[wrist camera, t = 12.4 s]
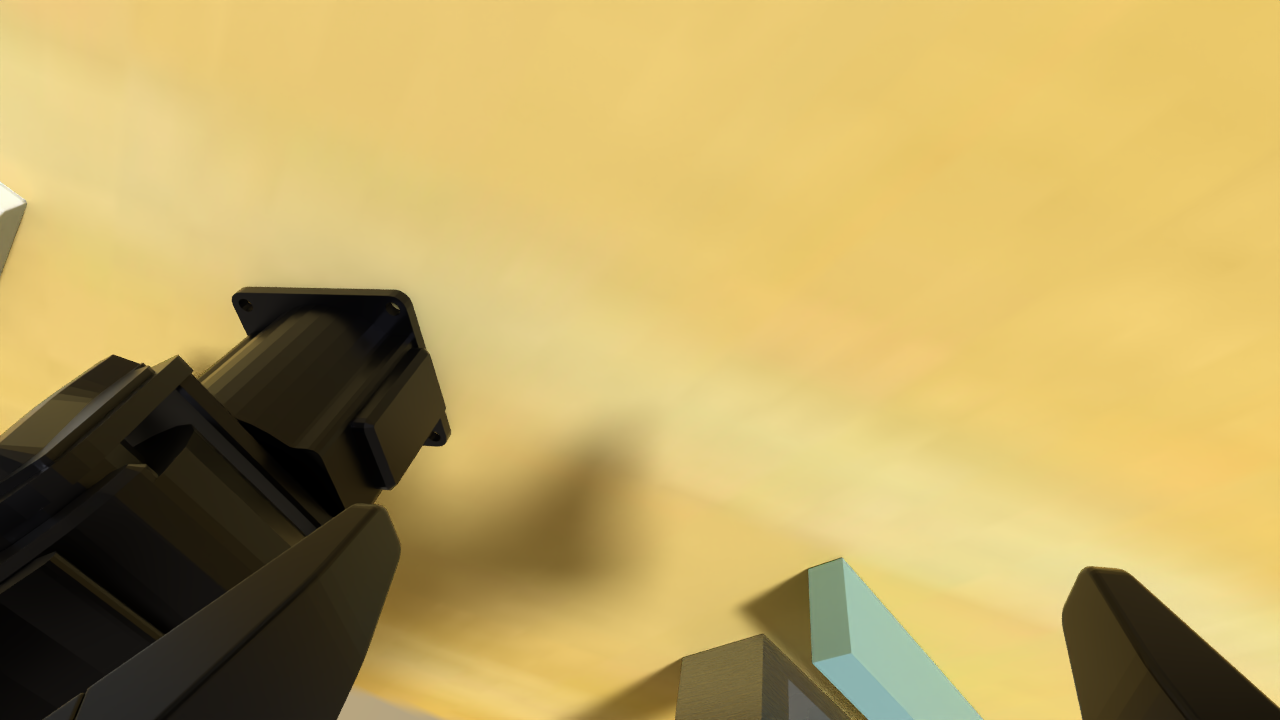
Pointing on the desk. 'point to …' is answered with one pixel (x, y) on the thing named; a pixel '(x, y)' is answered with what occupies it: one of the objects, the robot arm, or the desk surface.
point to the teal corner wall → (874, 653)
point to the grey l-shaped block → (749, 686)
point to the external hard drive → (9, 220)
